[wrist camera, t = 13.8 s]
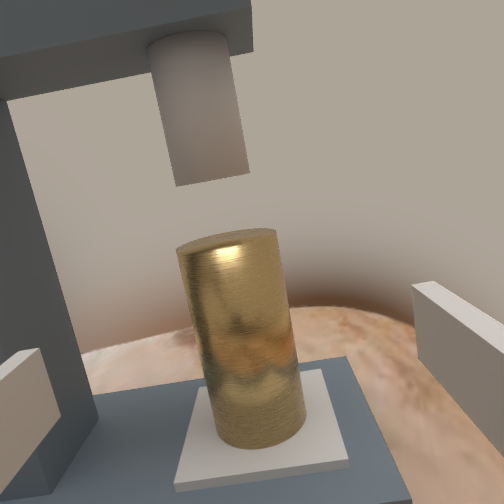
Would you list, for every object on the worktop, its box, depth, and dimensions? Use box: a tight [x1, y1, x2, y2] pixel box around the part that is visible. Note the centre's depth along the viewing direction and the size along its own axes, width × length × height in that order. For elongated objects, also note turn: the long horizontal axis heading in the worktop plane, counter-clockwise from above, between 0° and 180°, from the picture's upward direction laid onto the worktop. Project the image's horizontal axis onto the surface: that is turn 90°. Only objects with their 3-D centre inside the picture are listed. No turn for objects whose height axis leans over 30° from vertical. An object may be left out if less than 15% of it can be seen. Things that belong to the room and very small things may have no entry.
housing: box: [176, 228, 307, 450], centre depth 21 cm, size 5×5×10 cm
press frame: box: [0, 0, 412, 504], centre depth 19 cm, size 22×12×32 cm, turn 89°
